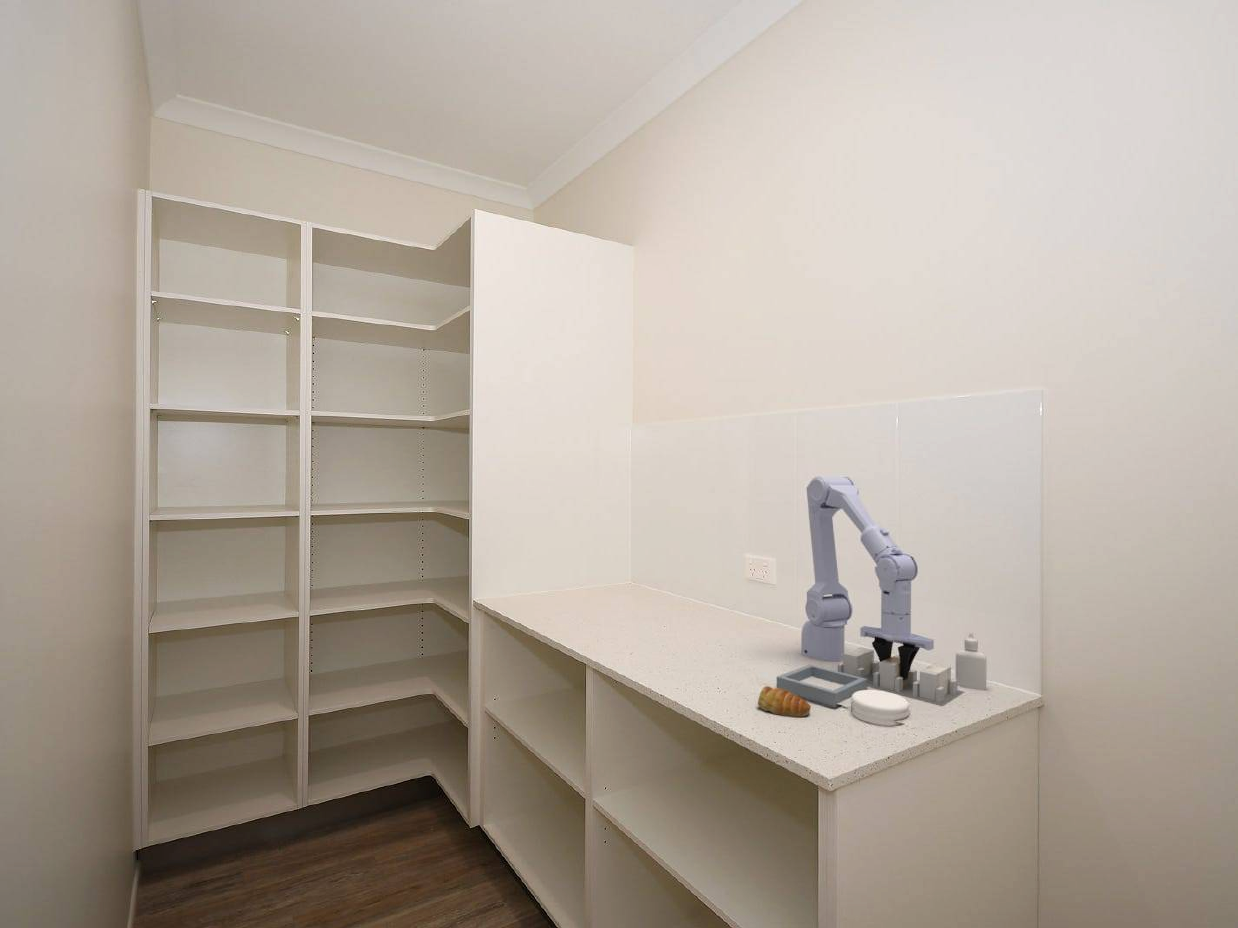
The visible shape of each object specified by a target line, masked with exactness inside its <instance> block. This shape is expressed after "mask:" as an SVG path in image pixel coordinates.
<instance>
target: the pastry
mask: <svg viewBox="0 0 1238 928" xmlns="http://www.w3.org/2000/svg"><path fill="white" fill-rule="evenodd" d="M757 705H758V707H759V708H760V709H762V711H765V712H771V714H775V715H782V716H785V717H792V718H797V717H802V718H803V717H807V716H808V715H809V714H810V711H811V704H810V703H809V701H806V700H803V699H802V698H801V697H799V696H797V695H796V694H793V693H790V692H789V691H788V690H781V689H780V688H777V687H775V688H773V687H771V686H768V685H765V686H763V688H762V689H761V691H760V693H759V696H758V701H757Z"/></svg>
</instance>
